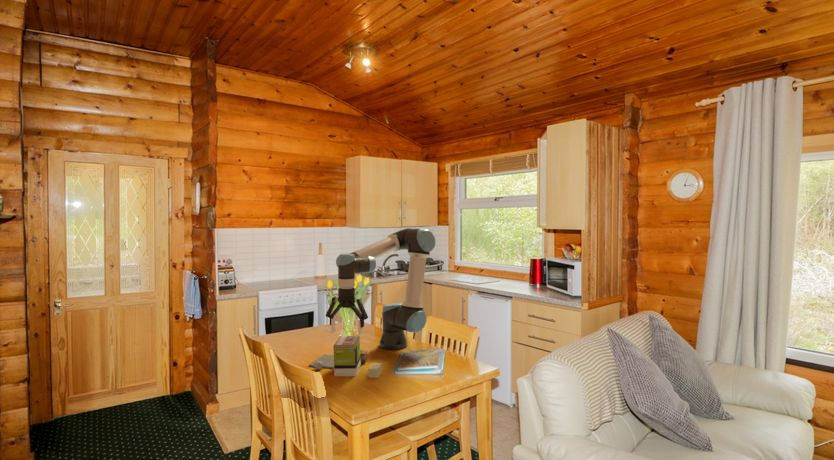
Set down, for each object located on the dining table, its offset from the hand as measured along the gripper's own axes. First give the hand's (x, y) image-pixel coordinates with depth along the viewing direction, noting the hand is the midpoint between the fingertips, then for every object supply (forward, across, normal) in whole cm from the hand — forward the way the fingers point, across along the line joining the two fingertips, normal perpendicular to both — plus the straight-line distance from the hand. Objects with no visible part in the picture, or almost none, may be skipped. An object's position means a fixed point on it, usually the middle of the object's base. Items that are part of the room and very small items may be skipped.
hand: (346, 333), depth 213 cm
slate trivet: (+18, +14, -9) cm, 24 cm away
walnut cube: (+18, -1, -14) cm, 22 cm away
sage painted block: (+18, -14, 0) cm, 23 cm away
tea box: (+18, 0, 0) cm, 18 cm away
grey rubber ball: (+16, +14, +2) cm, 21 cm away
